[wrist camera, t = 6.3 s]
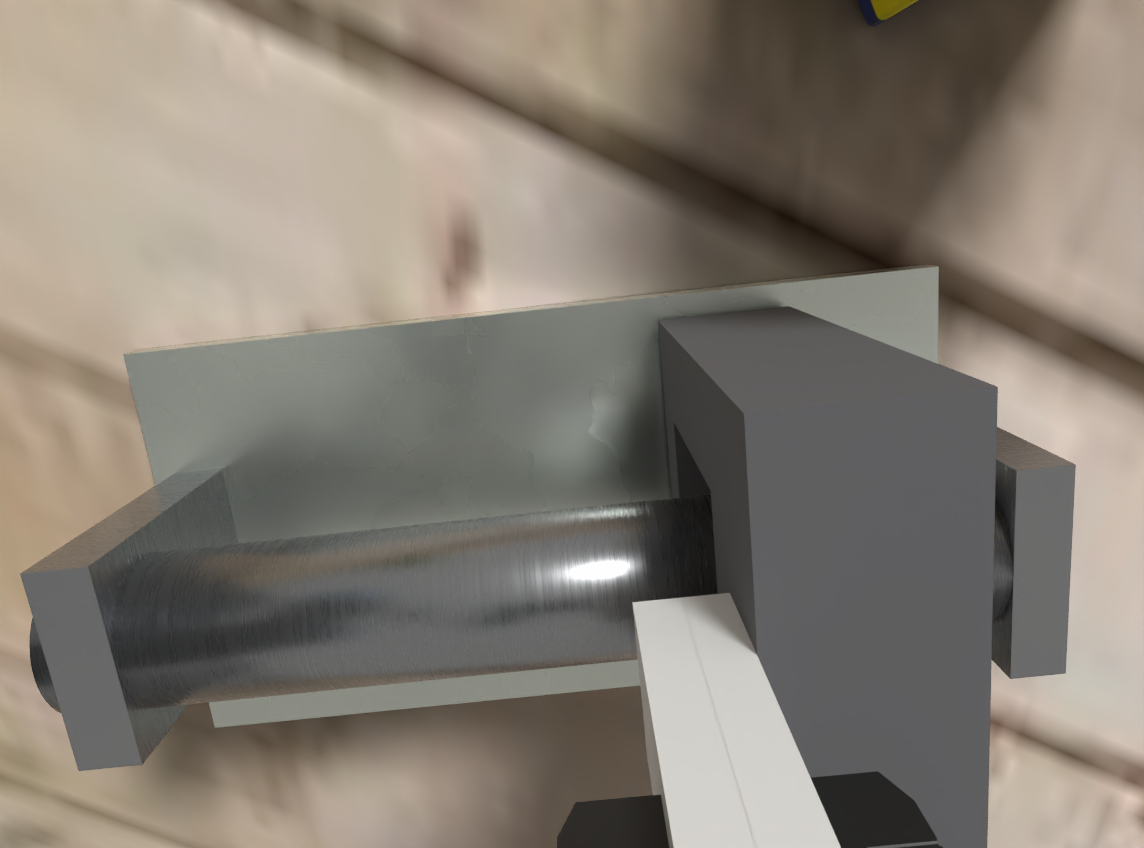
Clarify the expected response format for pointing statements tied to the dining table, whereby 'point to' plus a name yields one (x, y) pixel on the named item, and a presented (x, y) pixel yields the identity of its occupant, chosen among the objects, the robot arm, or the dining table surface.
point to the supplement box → (882, 9)
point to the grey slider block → (850, 541)
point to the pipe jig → (442, 517)
